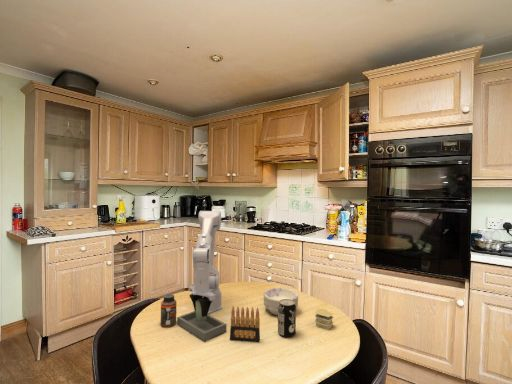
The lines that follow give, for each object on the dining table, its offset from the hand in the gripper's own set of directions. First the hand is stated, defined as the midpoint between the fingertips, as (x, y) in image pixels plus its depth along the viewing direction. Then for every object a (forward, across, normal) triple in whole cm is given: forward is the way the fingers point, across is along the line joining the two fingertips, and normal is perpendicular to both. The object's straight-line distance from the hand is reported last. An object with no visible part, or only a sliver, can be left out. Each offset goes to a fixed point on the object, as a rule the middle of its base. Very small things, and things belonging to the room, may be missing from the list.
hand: (201, 314), depth 109 cm
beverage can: (+6, +26, +20) cm, 33 cm away
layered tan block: (+6, +32, +36) cm, 49 cm away
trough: (+6, 0, 0) cm, 6 cm away
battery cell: (+2, 0, 0) cm, 2 cm away
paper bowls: (+6, +12, +34) cm, 37 cm away
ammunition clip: (+6, +18, +6) cm, 20 cm away
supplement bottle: (+6, -12, -7) cm, 15 cm away
